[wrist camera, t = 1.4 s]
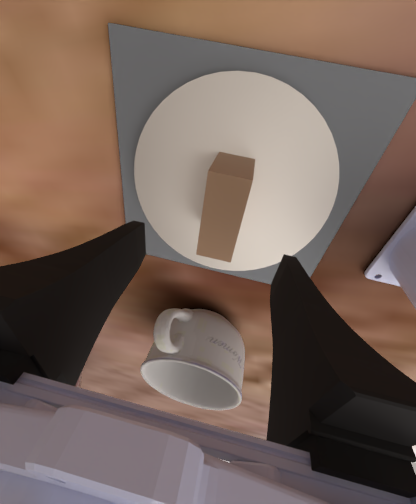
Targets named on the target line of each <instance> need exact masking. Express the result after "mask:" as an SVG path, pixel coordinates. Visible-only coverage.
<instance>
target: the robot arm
mask: <svg viewBox="0 0 416 504" xmlns="http://www.w3.org/2000/svg"><path fill="white" fill-rule="evenodd" d="M145 255H146V242H145V223H143V222H138V221H134V220H133V221H131V222H129V223H126V224H124V225H122V226H120V227H118V228H116V229H114V230H112V231H110V232H108V233H106V234H104V235H102V236H100V237H97V238H95V239H93V240H90V241H88V242H86V243H83V244H81V245H79V246H76V247H73V248H70V249H68V250H65V251H62V252H59V253H55V254H52V255H48V256H45V257H41V258H37V259H34V260H30V261H25V262H21V263H16V264H11V265H6V266H0V504H416V475H415V473H414V470H413V467H412V464H411V462H416V457H415V454H414V452H413V449H412V446H414V445H416V382H414V381H413V380H412V379H410V378H409V377H408V376H406V375H405V374H403V373H402V372H401V371H399V370H398V369H397V368H396V367H394V366H393V365H392V364H391V363H389V362H388V361H387V360H386V359H385V358H383V357H382V356H381V355H380V354H379V353H377V352H376V351H375V350H374V349H373V348H372V347H370V346H369V345H368V344H367V343H366V342H365V341H364V340H363V339H362V338H361V337H360V336H359V335H358V334H357V333H355V332H354V331H353V330H352V329H351V328H350V327H349V326H348V325H347V324H346V322H345V321H344V320H343V319H342V318H341V317H340V316H339V315H338V314H337V313H336V312H335V310H334V309H333V308H332V307H331V306H330V304H329V303H328V302H327V301H326V299H325V298H324V297H323V296H322V294H321V293H320V291H319V290H318V289H317V287H316V286H315V285H314V283H313V282H312V280H311V279H310V277H309V276H308V274H307V273H306V271H305V270H304V268H303V267H302V265H301V263H300V262H299V260H298V259H297V257H294V256H289V255H285V254H284V255H283V257H282V260H281V262H280V264H279V267H278V269H277V271H276V273H275V276H274V278H273V280H272V283H271V293H270V308H271V323H272V337H273V362H272V382H271V397H270V410H269V421H268V432H267V440H263V439H260V438H256V437H253V436H249V435H246V434H242V433H239V432H235V431H231V430H228V429H224V428H221V427H217V426H214V425H210V424H207V423H203V422H199V421H196V420H192V419H189V418H185V417H182V416H178V415H175V414H171V413H167V412H164V411H160V410H157V409H153V408H150V407H146V406H143V405H139V404H135V403H132V402H128V401H125V400H121V399H118V398H114V397H111V396H107V395H103V394H100V393H96V392H93V391H89V390H86V389H82V388H79V387H75V386H76V383H77V381H78V379H79V376H80V374H81V372H82V369H83V367H84V365H85V362H86V360H87V358H88V356H89V354H90V352H91V350H92V347H93V345H94V343H95V341H96V339H97V337H98V335H99V333H100V331H101V329H102V327H103V325H104V323H105V321H106V319H107V317H108V316H109V314H110V312H111V310H112V308H113V307H114V305H115V303H116V302H117V300H118V299H119V297H120V296H121V294H122V293H123V291H124V290H125V288H126V287H127V286H128V284H129V283H130V281H131V280H132V278H133V277H134V275H135V274H136V272H137V271H138V269H139V267H140V265H141V263H142V261H143V259H144V257H145ZM378 274H379V275H378ZM364 275H365V277H366V278H368V279H371V280H375V281H380V282H384V283H388V284H392V285H397V286H401V287H402V289H403V290H404V292H405V294H406V295H407V297H408V298H409V300H410V301H411V303H412V305H413V306H414V308H415V309H416V206H415V208H414V209H413V210H412V211H411V213H410V214H409V215H408V217H407V218H406V219H405V220H404V222H403V223H402V224H401V226H400V227H399V228H398V229H397V231H396V232H395V233H394V235H393V236H392V237H391V238H390V240H389V241H388V242H387V244H386V245H385V246H384V247H383V249H382V250H381V251H380V253H379V254H378V255H377V256H376V258H375V259H374V260H373V262H372V263H371V264H370V265H369V267H368V268H367V269H366V271H365V272H364ZM375 275H377V276H375ZM218 458H219V459H218ZM221 459H222V460H221ZM223 460H226V461H229V462H230V463H228V462H226V461H223Z"/></svg>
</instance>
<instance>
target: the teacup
mask: <svg viewBox="0 0 416 504" xmlns="http://www.w3.org/2000/svg"><path fill="white" fill-rule="evenodd" d="M244 362H245V348H244V343H243V339H242V337H241V335H240V333H239V332H238V331H237V329H236V328H235V327H234V326H233V325H232V324H231V323H230V322H229V321H228V320H227V319H226V318H224V317H223V316H221V315H220V314H218V313H216V312H213V311H210V310H205V309H191V310H190V309H187V308H184V309H177V308H172V309H167V310H164V311H163V312H162V313H161V314H160V315H159V316H158V318H157V320H156V323H155V326H154V343H153V345H152V347H151V349H150V351H149V353H148V356H147V358H146V360H145V361H144V362H143V363H142V365H141V374H142V377H143V378H144V380H145V381H146V382H147V383H148V384H149V385H150V386H151V387H153V388H154V389H155V390H157V391H159V392H160V393H162V394H164V395H166V396H168V397H169V398H172V399H174V400H176V401H179V402H182V403H184V404H188V405H191V406H195V407H199V408H202V409H210V410H227V409H232V408H235V407H236V406H238V405H239V404H240V403H241V400H242V393H241V390H242V382H243V373H244Z"/></svg>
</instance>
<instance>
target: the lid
mask: <svg viewBox="0 0 416 504" xmlns="http://www.w3.org/2000/svg"><path fill="white" fill-rule="evenodd" d="M134 178H135V186H136V191H137V195H138V199H139V202H140V204H141V207H142V210H143V212H144V214H145V216H146V218H147V220H148V221H149V223H150V224H151V226H152V227H153V229H154V230H155V231H156V232H157V234H158V235H159V236H160V237H161V238H162V239H163V240H164V241H165V242H166V243H167V244H168V245H169V246H170V247H172V248H173V249H174V250H175V251H177V252H178V253H180V254H181V255H183V256H184V257H186V258H188V259H190V260H192V261H194V262H196V263H199V264H201V265H204V266H208V267H211V268H215V269H221V270H229V271H247V270H255V269H260V268H265V267H268V266H271V265H274V264H277V263H279V262H281V260H282V257H283V255H284V254H285V255H289V256H292V255H294V254H296V253H297V252H298V251H300V250H301V249H302V248H304V247H305V246H306V245H307V244H308V243H309V242H310V241H311V240H312V239H313V238H314V237H315V236H316V234H317V233H318V232H319V231H320V230H321V228H322V227H323V225H324V223H325V222H326V220H327V219H328V217H329V214H330V212H331V210H332V208H333V205H334V202H335V199H336V195H337V191H338V184H339V159H338V153H337V148H336V145H335V142H334V139H333V135H332V133H331V131H330V129H329V127H328V125H327V123H326V121H325V119H324V118H323V117H322V115H321V114H320V113H319V111H318V110H317V109H316V107H315V106H314V105H313V104H312V103H311V102H310V101H309V100H308V99H307V98H306V97H305V96H304V95H303V94H301V93H300V92H298V91H297V90H296V89H294V88H293V87H291V86H290V85H288V84H286V83H284V82H282V81H280V80H278V79H275V78H273V77H271V76H267V75H263V74H260V73H256V72H247V71H224V72H217V73H213V74H208V75H204V76H202V77H199V78H197V79H194V80H192V81H190V82H187V83H186V84H184V85H183V86H181V87H179V88H178V89H176V90H175V91H173V92H172V93H171V94H170V95H169V96H168V97H166V98H165V99H164V100H163V101H162V102H161V103H160V104H159V106H158V107H157V108H156V109H155V110H154V111H153V113H152V114H151V116H150V118H149V119H148V121H147V122H146V124H145V126H144V128H143V131H142V133H141V135H140V138H139V141H138V145H137V148H136V154H135V161H134Z"/></svg>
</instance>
